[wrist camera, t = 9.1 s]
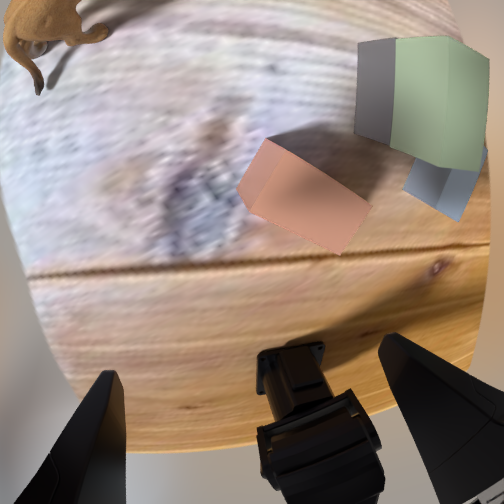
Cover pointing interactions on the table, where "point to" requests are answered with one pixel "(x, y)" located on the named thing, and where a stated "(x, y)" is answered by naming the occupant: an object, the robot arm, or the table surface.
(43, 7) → the lion figurine
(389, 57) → the charcoal brick
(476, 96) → the green brick
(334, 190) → the terracotta brick
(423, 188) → the slate blue brick
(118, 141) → the table surface
